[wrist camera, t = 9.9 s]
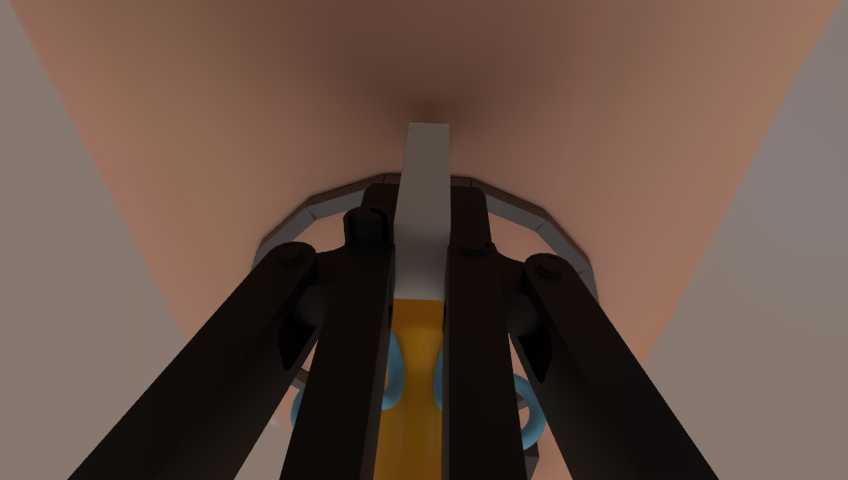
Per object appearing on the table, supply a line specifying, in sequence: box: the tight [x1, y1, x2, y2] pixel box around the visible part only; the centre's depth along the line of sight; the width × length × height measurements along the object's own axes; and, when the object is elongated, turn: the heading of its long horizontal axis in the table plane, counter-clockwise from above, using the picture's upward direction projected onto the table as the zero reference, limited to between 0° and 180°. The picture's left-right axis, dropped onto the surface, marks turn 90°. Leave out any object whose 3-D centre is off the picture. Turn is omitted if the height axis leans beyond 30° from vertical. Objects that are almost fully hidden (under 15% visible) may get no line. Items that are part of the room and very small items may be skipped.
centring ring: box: [251, 174, 600, 410], centre depth 28 cm, size 21×21×1 cm
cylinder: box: [291, 298, 546, 480], centre depth 22 cm, size 12×10×15 cm
